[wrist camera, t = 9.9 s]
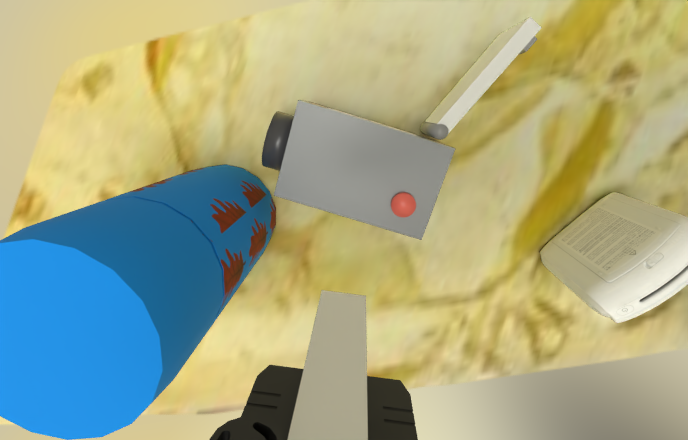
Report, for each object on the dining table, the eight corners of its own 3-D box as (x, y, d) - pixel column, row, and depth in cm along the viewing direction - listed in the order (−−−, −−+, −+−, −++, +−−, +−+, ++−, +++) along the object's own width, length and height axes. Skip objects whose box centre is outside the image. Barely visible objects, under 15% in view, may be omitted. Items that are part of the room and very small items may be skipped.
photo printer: (556, 280, 43) (630, 344, 31) (530, 253, 42) (595, 308, 30) (638, 213, 41) (752, 255, 29) (612, 184, 40) (718, 214, 28)
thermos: (172, 249, 44) (-59, 416, 20) (182, 152, 41) (-72, 211, 17) (269, 270, 44) (156, 462, 20) (286, 176, 41) (179, 266, 17)
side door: (432, 142, 40) (448, 149, 32) (417, 128, 39) (430, 132, 32) (514, 48, 37) (551, 33, 30) (499, 33, 37) (532, 14, 30)
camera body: (437, 140, 40) (457, 148, 31) (410, 216, 42) (422, 242, 34) (291, 95, 39) (272, 91, 31) (271, 174, 41) (248, 189, 33)
